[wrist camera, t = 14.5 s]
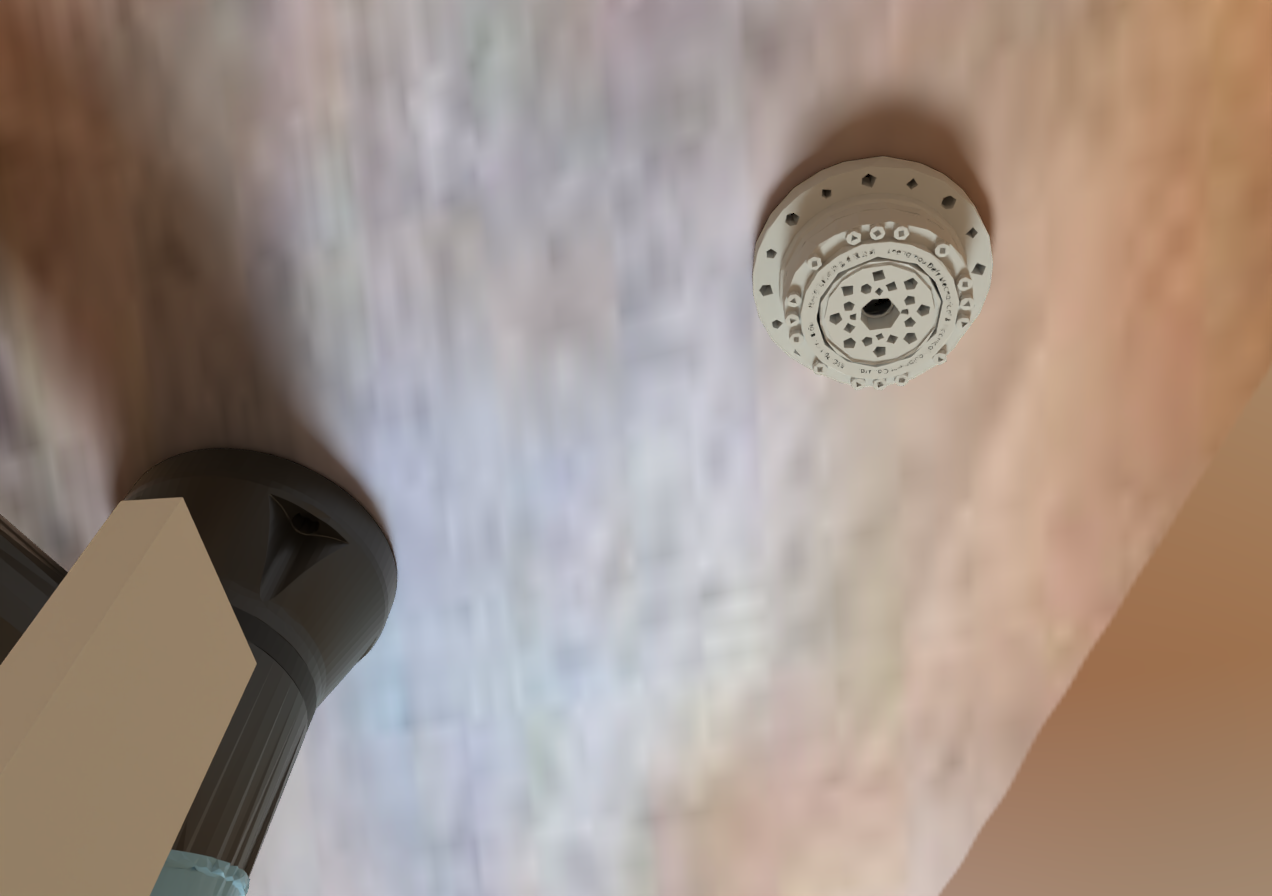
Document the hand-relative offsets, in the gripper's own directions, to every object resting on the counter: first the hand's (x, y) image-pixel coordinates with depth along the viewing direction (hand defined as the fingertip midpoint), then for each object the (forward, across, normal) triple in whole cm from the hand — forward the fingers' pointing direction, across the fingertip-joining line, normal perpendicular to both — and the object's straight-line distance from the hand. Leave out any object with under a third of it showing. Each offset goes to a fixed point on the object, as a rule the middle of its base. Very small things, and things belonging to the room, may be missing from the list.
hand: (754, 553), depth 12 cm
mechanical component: (+33, +6, -12) cm, 36 cm away
